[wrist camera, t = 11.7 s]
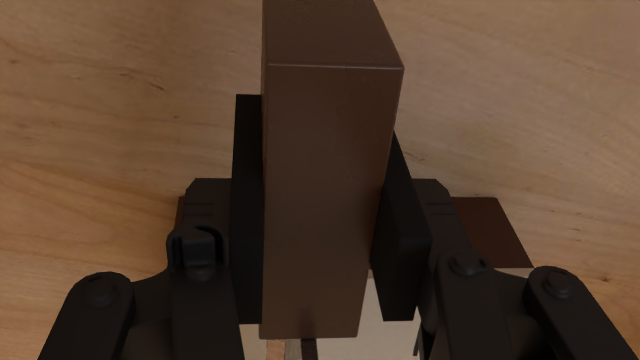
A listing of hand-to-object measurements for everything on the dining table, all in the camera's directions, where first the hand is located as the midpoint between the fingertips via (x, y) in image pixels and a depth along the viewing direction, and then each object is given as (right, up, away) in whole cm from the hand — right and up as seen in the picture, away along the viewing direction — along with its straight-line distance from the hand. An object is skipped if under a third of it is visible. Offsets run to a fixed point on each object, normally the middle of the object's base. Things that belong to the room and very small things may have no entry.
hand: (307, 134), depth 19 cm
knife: (-1, -5, +5) cm, 7 cm away
